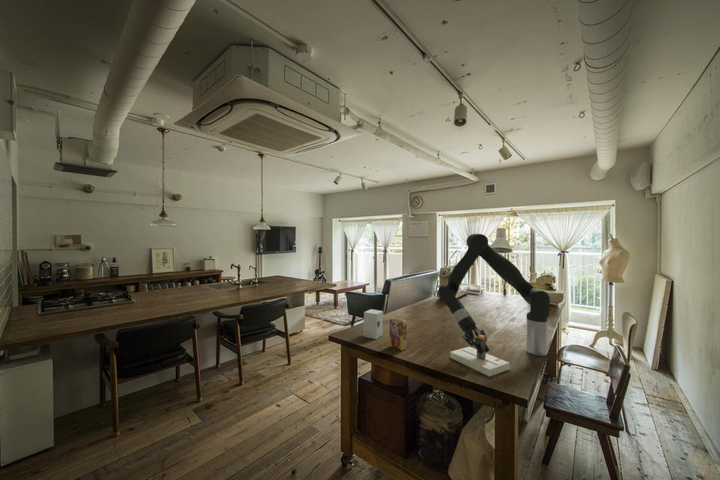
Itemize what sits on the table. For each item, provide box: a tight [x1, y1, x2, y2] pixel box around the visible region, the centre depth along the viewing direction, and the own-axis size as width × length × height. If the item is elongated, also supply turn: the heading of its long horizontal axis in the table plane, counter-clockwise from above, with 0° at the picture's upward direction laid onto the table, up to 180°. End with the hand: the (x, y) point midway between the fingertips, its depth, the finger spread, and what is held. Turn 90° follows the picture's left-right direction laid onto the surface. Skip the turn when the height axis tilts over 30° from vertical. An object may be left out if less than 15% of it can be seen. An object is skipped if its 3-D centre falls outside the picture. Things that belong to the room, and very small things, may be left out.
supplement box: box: [363, 308, 384, 340], centre depth 171 cm, size 9×9×15 cm
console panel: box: [449, 346, 511, 377], centre depth 134 cm, size 14×22×3 cm, turn 29°
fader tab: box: [477, 335, 487, 359], centre depth 133 cm, size 3×3×10 cm
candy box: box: [388, 317, 408, 351], centre depth 153 cm, size 9×4×15 cm, turn 47°
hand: (485, 352), depth 131 cm, fingers closed on fader tab, 3 cm apart
